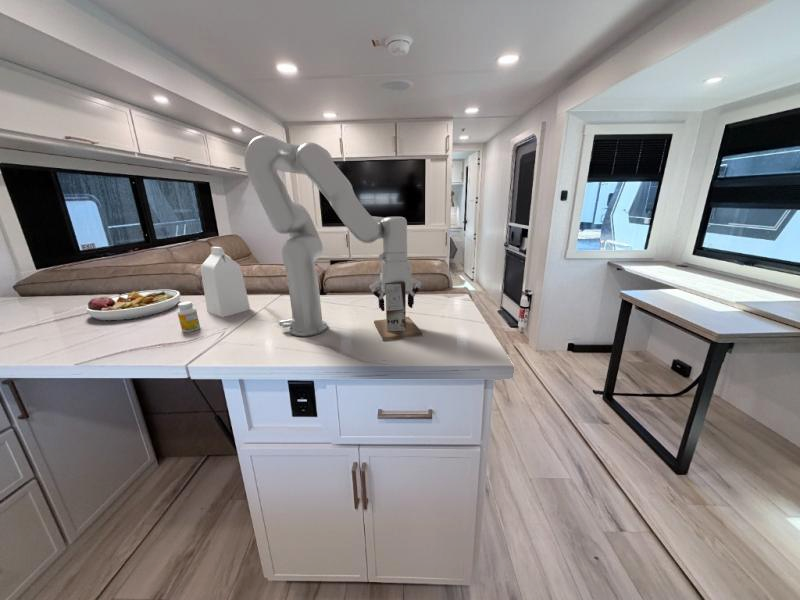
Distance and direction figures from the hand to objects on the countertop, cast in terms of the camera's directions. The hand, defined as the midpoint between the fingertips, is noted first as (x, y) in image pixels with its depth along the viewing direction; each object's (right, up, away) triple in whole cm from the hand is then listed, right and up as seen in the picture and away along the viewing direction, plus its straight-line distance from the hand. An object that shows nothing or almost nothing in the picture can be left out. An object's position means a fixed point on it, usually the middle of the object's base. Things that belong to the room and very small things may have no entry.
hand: (396, 308), depth 101 cm
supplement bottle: (-72, -8, +6) cm, 73 cm away
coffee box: (0, -6, +2) cm, 7 cm away
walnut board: (0, -7, +2) cm, 8 cm away
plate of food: (-109, -2, +27) cm, 113 cm away
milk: (-70, -2, +24) cm, 74 cm away
